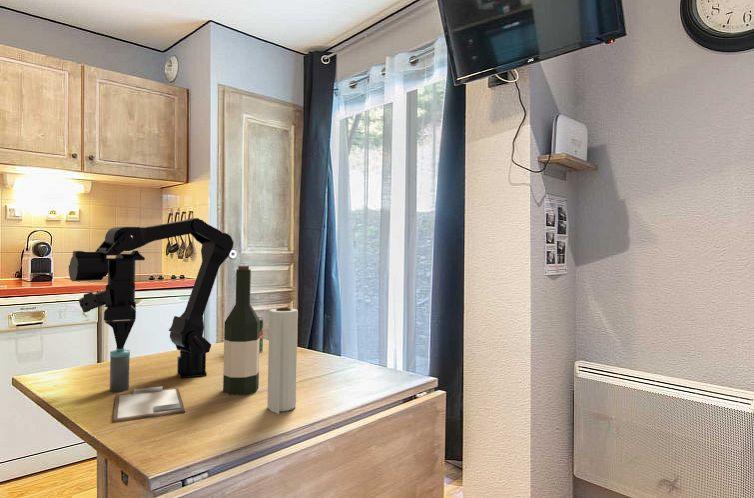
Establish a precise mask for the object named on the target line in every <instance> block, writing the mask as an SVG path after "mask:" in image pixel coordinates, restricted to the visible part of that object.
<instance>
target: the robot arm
mask: <svg viewBox="0 0 754 498" xmlns="http://www.w3.org/2000/svg"><path fill="white" fill-rule="evenodd" d="M185 235H190V236H192V237H193V239H195V240H196V242H198V243H199V244H200V245H201V248H200V253H201V264H200V267H199V269H198V272H197V276H196V278H195V282H194V284H193V287H192V290H191V292H190V295H189V298H188V301H187V304H186V307H185V309H184V312H182V314H181V315H180V316H177V315H174V316H173V319H172V323H171V326H170V328H168V331H169V332H170V334H169V339H170V341H171V342H172V344H174V345H175V347H176V350H177V351H179V356H177V364H176V365H177V366H176V367H177V369H176V372H177V375H179V377H180V379H181V378H182V379H184V378H194V377H202V376H203V377H204V376H207V375H208V373H207V369H206V365H207V363H206V361H207V353H210V350H211V348H212V344H211V343H210V342H209V341H208V340H207V339H206V338H205V337H204V332H205V331H204V330H205V323H204V322H205V321H204V314H205V311H206V308H207V306H208V302H209V298H210V296H211V293H212V290H213V288H214V285H215V281H216V278H217V276H218V272H219V270H220V267H221V266H222V264H223V263H224V262H225V261H226V260H227V259H228V258H229V255H230V254H231V252H232V250H233V248H234V244H235V243H234V240H233V238H232V236H231V235H230V234H229V233H226V232H222V230H219V229H218V228H216V227H214V226H212V225H210V224H208V223H207V222H206V221H204V220H203V219H201V218H199V217H193V218H187V219H184V220H178V221H173V222H172V221H171V222H167V223H162V224H154V225H150V226H149V225H148V226H116V227H115V226H114V227H112V228H110V229H108V231H107V232H106V233H105V237H104V240H103V242H102V243H101V244H100V245H99V246H98V248H97V249H96V250H95V251H84V250H73V251H72V256H71V259H70V262H69V264H68V276H69V278H70V281H71V282H86V281H87V282H90V281H103V279H104V277H107V284H106V285H105V289H104V290H101V291H98V292H95V293H94V292H92V291H90V292H88V293H84V294H83V297H81V298H79V299H78V302H79V306H80V308H81V310H82V312H83V313H84V314H85V313H88V312H90V311H91V310H94V309H97V308H99V307H102V306H104V307H105V310H104V312H103V321H104V323H105V324H106V325H108V326H110V327H111V328H112V331H113V335H114V339H115V344H116V347H117V349H123V347H124V348H125V345H126V343H127V340H128V337H129V336H130V334H131V333H130V332H131V330H132V329H133V326H134V324H135V322H136V319H137V317H136V316H137V308H136V306H137V305H136V304H137V303H136V261H145V260H146V259H145V257H144V256H143V255H142V254H141V253H140V251H139V250H136V249H139V248H142V247H144V246H146V245H148V244H150V243H152V242H155V241H160V240H165V239H171V238H175V237H181V236H185ZM123 252H130V253H123ZM108 256H115V257H108Z"/></svg>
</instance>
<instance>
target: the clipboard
mask: <svg viewBox="0 0 754 498" xmlns="http://www.w3.org/2000/svg"><path fill="white" fill-rule="evenodd" d="M180 392H181V391H180V389H179V387H175V388H173V387H172V388H163V385H161V386H153V387H142V388H134V389H133V392H129V393H127V392H126V393H120V394H119V393H118V394H116V395H115V402H114V410H113V418H112V420H113V421H112V423H118V422H126V421H132V420H139V419H148V418H155V417H161V416H170V415H174V414H175V415H178V414H184V413H186V410H185V406H184V402H183V399H182V395H181V393H180Z"/></svg>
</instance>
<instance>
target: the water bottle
mask: <svg viewBox="0 0 754 498" xmlns="http://www.w3.org/2000/svg"><path fill="white" fill-rule="evenodd" d="M109 353H110V355H109V356H110V359H109V361H110V362H109V363H110V364H109V392H111V393H121V392H126V391H129V388H130V358H131V357H130V356H131V350H130V349H125V346H124V347H123V349H117V346H116V349H115V350H112V351H109ZM125 390H126V391H125Z"/></svg>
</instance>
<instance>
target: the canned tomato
mask: <svg viewBox="0 0 754 498" xmlns="http://www.w3.org/2000/svg"><path fill="white" fill-rule="evenodd" d="M258 318H259V320H260V343H259V354H261V353H263V349H264V344H263V343H264V317H262V316H261V317H260V316H258Z"/></svg>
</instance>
